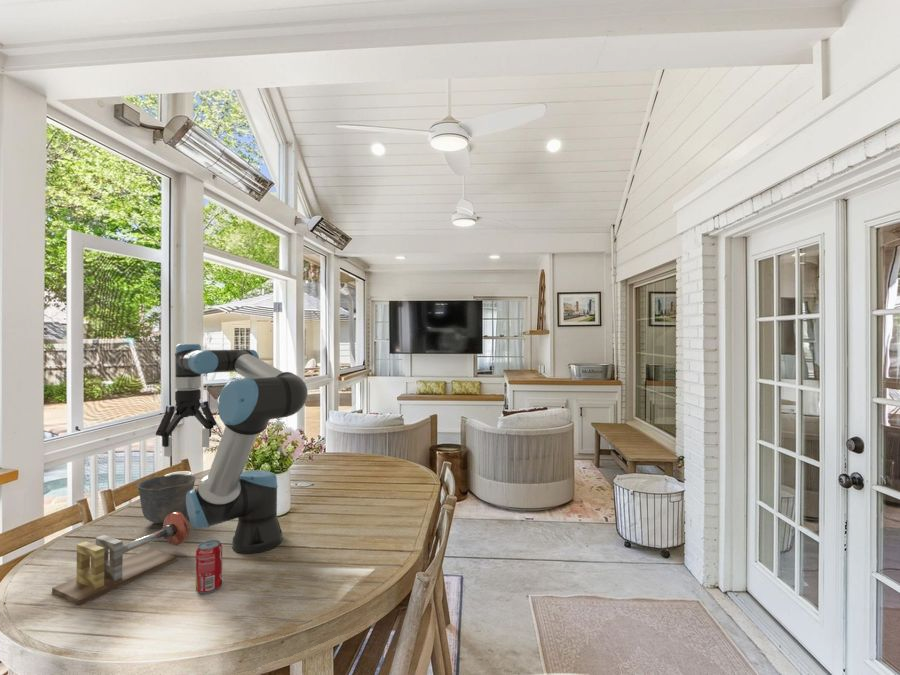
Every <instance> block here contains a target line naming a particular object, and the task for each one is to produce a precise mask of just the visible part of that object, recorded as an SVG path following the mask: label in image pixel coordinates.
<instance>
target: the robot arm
mask: <svg viewBox="0 0 900 675" xmlns="http://www.w3.org/2000/svg"><path fill="white" fill-rule="evenodd" d="M174 356H175V358H174V360H175V362H174V363H175V366H174V368H175V370H174V371H175V373H174V374H175V380H174V381H175V382H174V384H175V386H174V387H175V391H174V393H175V394H174V399H175V405H168V404H167V405H166V407H165V412H164V415H163V417H162V419H161V421H160V423H159V426H158V428H157V429H156V432H155V436H158V437H161V438H162V439H161V446H162V447H163V451H164V452H163V453H164V454H163V456H164V457H168V458H170V457H173V436H171V435H172V433H173V432H174V431H175V429H176V428H177V426H178V425H179V423H180V422H181V421H182V420H183V419H184V418H189V417H195V418H196V420H198V422H199V423H200V424H201V425H202V426H203V428H202V430H201V431H202V432H201V435H202V436H201V442H202V443H201V447H202V448H207V449H208V448H210V438H211V437H212V429H214V426H216V425H217V421H216V420H215V417H214V415H213V412H212V411H211V408H210V407H209V401H208V400H201V399H202V397H201V396H202V394H201V392H202V391H201V389H200V388H201V387H202V381H201V380H202V377H201V376H202V375H203V374H204V375H207V374H211V373H212V374H214V373H230V372H231V373H233V372H235V373H236V374H239V375H240V376H242V377H244V378H239V379H233V380H231V381H228V382H227V383H226V384H225V385H224V387H223V388H222V389H221V391H220V394H219V397H218V402H219V403H218V406H217V411H218V412H217V413H218V416H219V418H220V420H221V422H222V423H223V425H224V426H225V427H224V429H223V432H222V436H221V438H220V441H219V444H218V446H217V449H216V452H215V455H214V458H213V461H212V463H211V466H210V469H209V472H208V474H207V475H205V476H204V477H203V478H202V479H201V480H200V482H199V483H198V487H197V488H193V489H192V490H190V491H188V492H187V495H186V507H187V512H188V515H187V517H188V519H189V522H190V524H191V526H192V527H193V528H194V529H196V530H197V529H198V530H200V529H203V528H204V529H205V528H210V527H212V526H215V525H219V524H222V523H225V522H229V521H233V520H235V519H238V520H237V521H238V522H237V525H236V528H235V532H234V536H233V537H232V541H231V542H232V544H231V545H232V546H231V547H232V550H233V551H234V552H236V553H239V554H256V553H261V552H266V551H268V550H271V549H274V548H276V547H278V546H279V545H280V544H281V543H282V541H283V531H282V529H281V525H280V522H279V520H278V514H277V513H278V511H277V510H278V486H279V485H278V479H277V475H276V474H275V473H274V472H271V471H268V470H259V469H255V470H245V471H244V469H245V467H246V464H247V461H248V460H249V456H250V454H251V452H252V449H253V447H254V444H255V442H256V439H257V437H258V435H259V434H261V433H264V431H265V430H266V428H267V427H268V425H269V422H270V420H274V419H280V418H281V419H282V418H288V417H291V416H293V415H295V414H297V413H298V412H299V411H301V410H302V408H303V407H304V406H305V404H306V402H307V400H308V387H307V385H306V383H305V382H304V380H303V378H301V377H300V376H299V375H296V374H294V373H293V372H289V371H282V370H280V369H278V368H277V367H274V366H272V364H269V363H267V362H266V361H264V360H262V359H261V358H260V357H259V354H258V352H257V351H256V350H254V349H247V348H244V349H202V347H201V345H200V343H178V344H177V345H176V347H175V353H174ZM200 408H201V410H200ZM202 412H203V413H202Z"/></svg>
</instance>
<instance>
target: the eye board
mask: <svg viewBox="0 0 900 675" xmlns="http://www.w3.org/2000/svg"><path fill="white" fill-rule="evenodd" d="M123 545H124V543H123V540H120V539H117V538H115V537H112V536H108V535H105V534H103V535H100V536H97V537H95V543H91V542H89V541H82V542H79V543H77V544H76V577H75V578H72V579H70V580H68V581H65V582H64V583H62V584H58V585H56V586H53V587H52V588H51V591H52V592H51V593H52V594H54V595H57V596H59V597H62V598H63V599H66V600H67V601H70V602H73V603H75V604H76V605H78V606H81V605H83V604H84V603H88V602H89V601H91V600H94V599H96V598H98V597H100V596H103V595H105V594H107V593H109V592H111V591H113V590H116V589H118V588H119V587H123V586H124V585H127V584H128V583H132V582H133V581H135V580H138V579H140V578H142V577H145V576H146V575H148V574H150V573H153V572H155V571H157V570H160V569H162V568H164V567H167V566H168V565H170V564H173V563H175V562H176V561H177V560H178V559H177V558H178V557H177V556H175V555H172V554H169V553H166V552H164V551H161V550H157V549H155V548H151V547H150V548H147V549H143V550H142V551H140V552H137V553H135V554H132V555H129V556H128V557H125V558H123V554H124V553H123Z"/></svg>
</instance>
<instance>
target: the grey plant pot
mask: <svg viewBox="0 0 900 675" xmlns="http://www.w3.org/2000/svg"><path fill="white" fill-rule="evenodd" d="M195 481H196V476H194V475H193V474H192V475H184V474H173V475H170V476H165V475H160V476H154V477H150V478H147V479H145V480H142V481H139V482H138V483H137V484H136V487H137V490H138V494H139V498H140V500H139V501H140V506H141V511H142V512H141V513H142V514H143V517H144V518H145V519H146V520H148V521H149V522H151V523H154V524H162V525H163V523H164V519H165V517H166V516H167V515H168V514H170V513H173V512H177V511H178V512H181V513H182V514H183V515H184V516H185V517H188V512H187V507H186V495H187V492H188V491H190V490H192V489H195V488H194V486H195Z"/></svg>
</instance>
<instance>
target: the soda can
mask: <svg viewBox="0 0 900 675" xmlns="http://www.w3.org/2000/svg"><path fill="white" fill-rule="evenodd" d="M222 584H223V544H222V543H221V540H218V539H211V540H205V541H202V542H201V543H199V544H198V545H197V549H196V550H195V591H196V592H198V593H199V594H203V595H204V594H205V595H206V594H211V593H213V592H216V591H217V590H218V589H219V588H220V587H221V586H222Z"/></svg>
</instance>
